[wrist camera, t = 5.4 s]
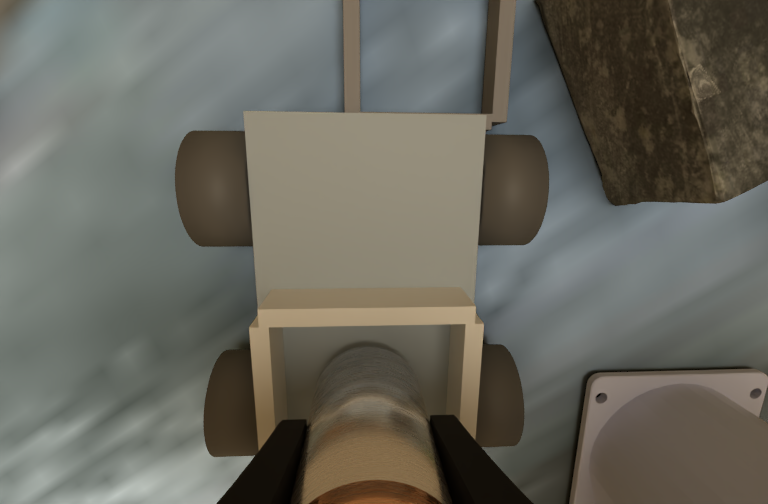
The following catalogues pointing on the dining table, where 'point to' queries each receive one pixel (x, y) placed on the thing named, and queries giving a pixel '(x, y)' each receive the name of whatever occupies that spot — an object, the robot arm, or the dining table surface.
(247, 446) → the trolley
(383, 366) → the canister with orange lid
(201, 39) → the dining table surface
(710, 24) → the stone block
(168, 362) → the dining table surface
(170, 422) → the dining table surface
